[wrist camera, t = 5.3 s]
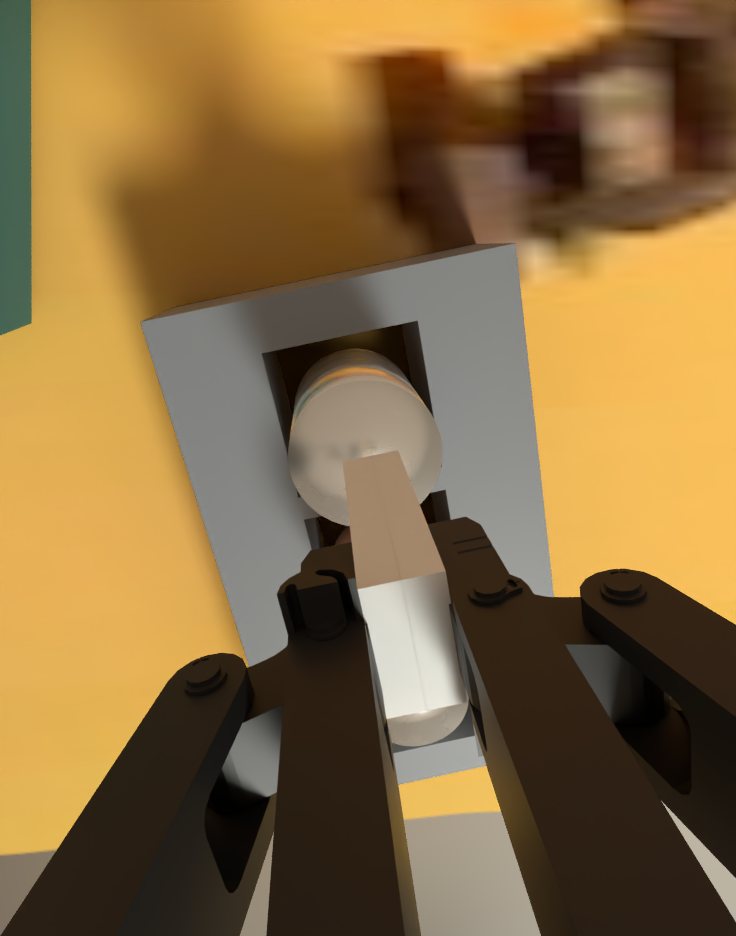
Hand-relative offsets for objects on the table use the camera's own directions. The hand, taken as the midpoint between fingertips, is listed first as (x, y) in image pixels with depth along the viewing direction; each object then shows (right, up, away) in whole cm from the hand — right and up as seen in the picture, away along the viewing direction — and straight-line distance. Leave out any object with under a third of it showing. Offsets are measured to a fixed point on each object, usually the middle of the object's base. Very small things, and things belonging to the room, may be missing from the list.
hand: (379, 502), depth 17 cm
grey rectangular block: (0, -1, +16) cm, 16 cm away
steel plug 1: (-1, +3, +8) cm, 9 cm away
